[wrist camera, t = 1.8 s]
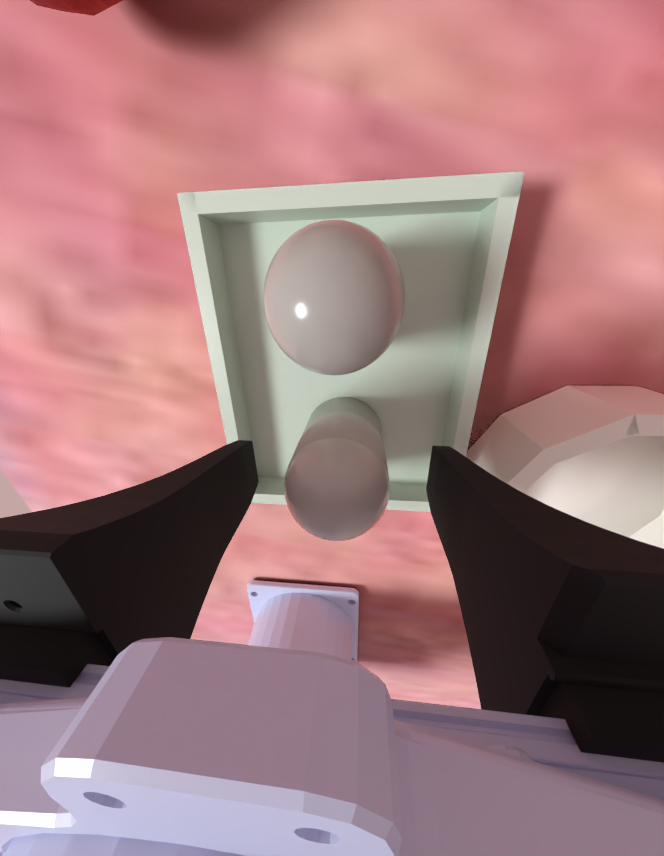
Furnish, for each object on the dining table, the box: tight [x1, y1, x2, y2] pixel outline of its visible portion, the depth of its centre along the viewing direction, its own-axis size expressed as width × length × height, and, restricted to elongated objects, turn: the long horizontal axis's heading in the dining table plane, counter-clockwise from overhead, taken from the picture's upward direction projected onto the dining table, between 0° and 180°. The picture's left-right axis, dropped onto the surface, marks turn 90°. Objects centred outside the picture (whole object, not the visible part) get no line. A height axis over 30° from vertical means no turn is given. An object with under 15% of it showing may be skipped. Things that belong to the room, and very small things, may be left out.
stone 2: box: [284, 397, 390, 541], centre depth 11 cm, size 4×4×6 cm
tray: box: [177, 171, 525, 512], centre depth 12 cm, size 13×11×2 cm
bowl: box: [466, 385, 664, 549], centre depth 13 cm, size 11×11×4 cm
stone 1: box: [263, 220, 405, 375], centre depth 9 cm, size 4×4×6 cm
